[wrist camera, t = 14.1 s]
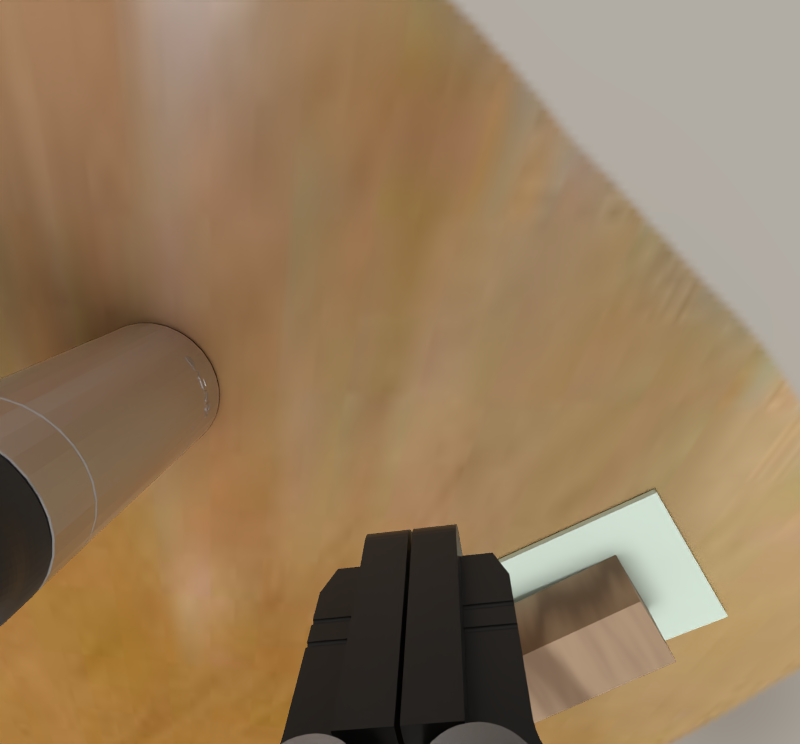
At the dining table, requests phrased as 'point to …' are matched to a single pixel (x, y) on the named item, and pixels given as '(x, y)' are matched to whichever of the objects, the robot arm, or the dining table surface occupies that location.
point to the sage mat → (625, 563)
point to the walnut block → (586, 638)
